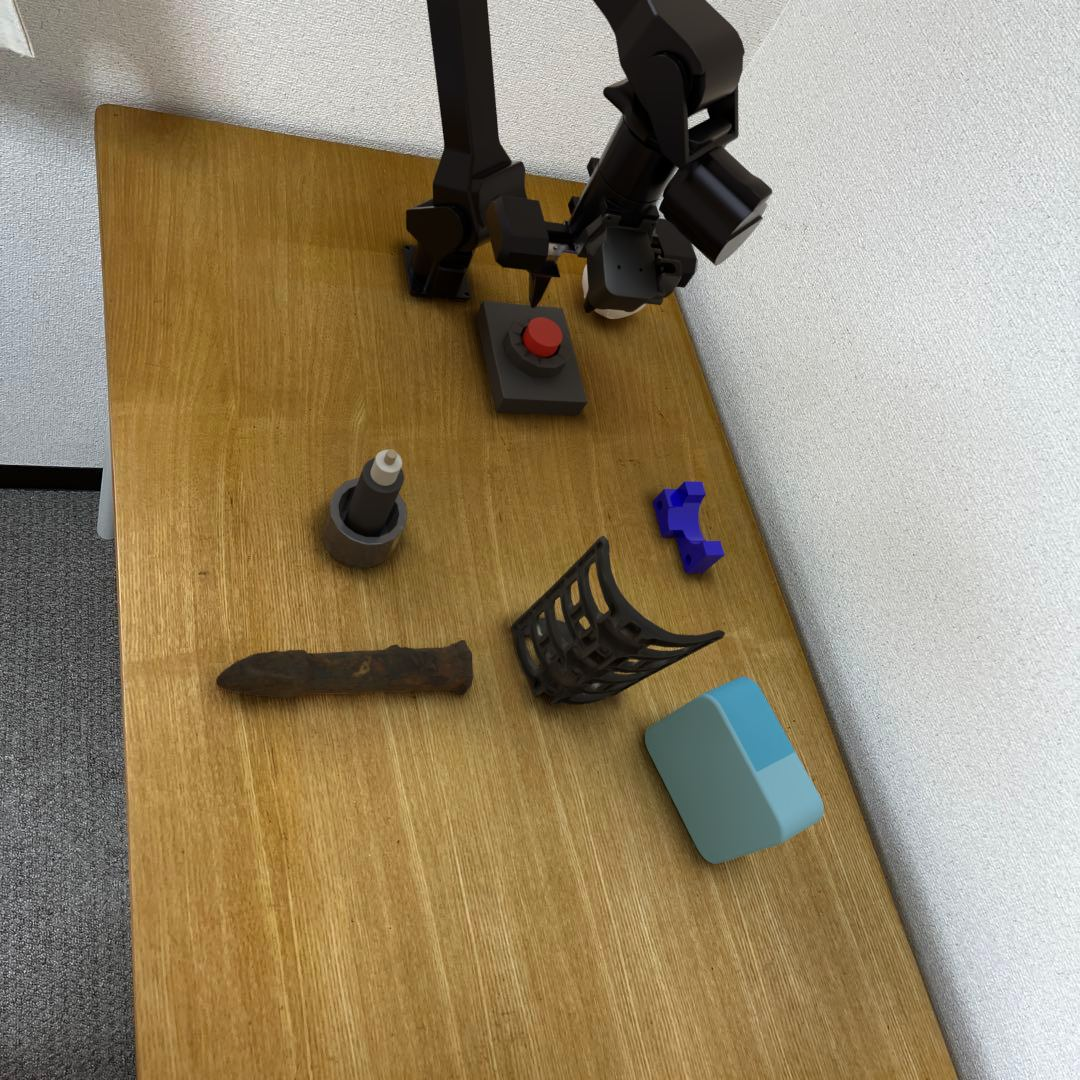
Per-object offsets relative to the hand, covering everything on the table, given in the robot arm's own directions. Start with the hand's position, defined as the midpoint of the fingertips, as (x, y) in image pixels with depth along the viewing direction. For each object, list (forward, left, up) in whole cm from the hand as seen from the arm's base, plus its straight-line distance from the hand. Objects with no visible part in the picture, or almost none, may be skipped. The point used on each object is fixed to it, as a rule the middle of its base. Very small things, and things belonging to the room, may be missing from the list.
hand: (559, 307), depth 85 cm
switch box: (0, 0, -9) cm, 9 cm away
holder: (+33, -4, -9) cm, 34 cm away
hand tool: (+32, -22, -9) cm, 40 cm away
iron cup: (+19, -20, -9) cm, 29 cm away
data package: (+44, +6, -9) cm, 45 cm away
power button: (0, 0, -5) cm, 5 cm away
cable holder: (+20, +12, -9) cm, 25 cm away
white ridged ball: (-9, +11, -9) cm, 17 cm away
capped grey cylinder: (+19, -20, -8) cm, 29 cm away
